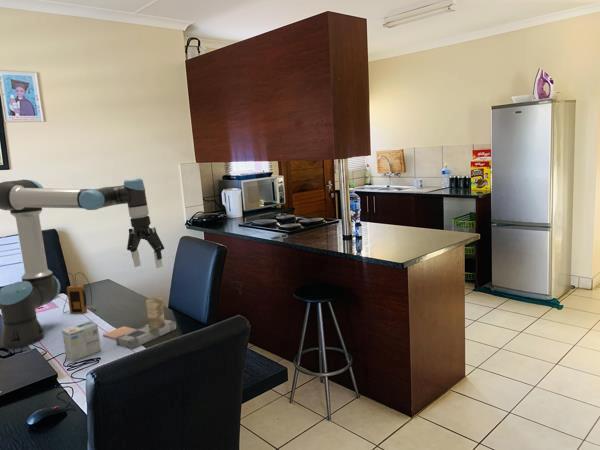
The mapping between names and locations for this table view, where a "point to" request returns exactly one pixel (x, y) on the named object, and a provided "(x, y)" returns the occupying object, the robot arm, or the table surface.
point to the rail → (144, 334)
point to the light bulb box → (81, 340)
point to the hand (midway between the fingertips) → (148, 266)
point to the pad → (118, 332)
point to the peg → (155, 312)
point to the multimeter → (77, 298)
